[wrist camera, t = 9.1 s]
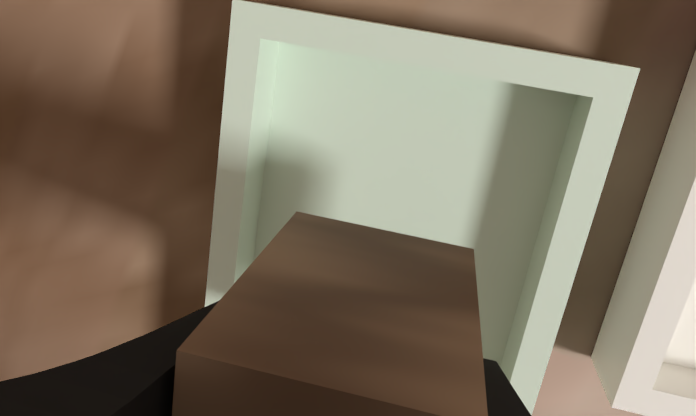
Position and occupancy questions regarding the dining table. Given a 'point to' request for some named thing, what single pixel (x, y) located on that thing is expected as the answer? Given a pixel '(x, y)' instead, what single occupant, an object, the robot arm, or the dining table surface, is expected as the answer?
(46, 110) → the dining table surface
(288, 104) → the sage tray
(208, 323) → the walnut block
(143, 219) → the dining table surface
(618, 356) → the cream dish
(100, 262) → the dining table surface
